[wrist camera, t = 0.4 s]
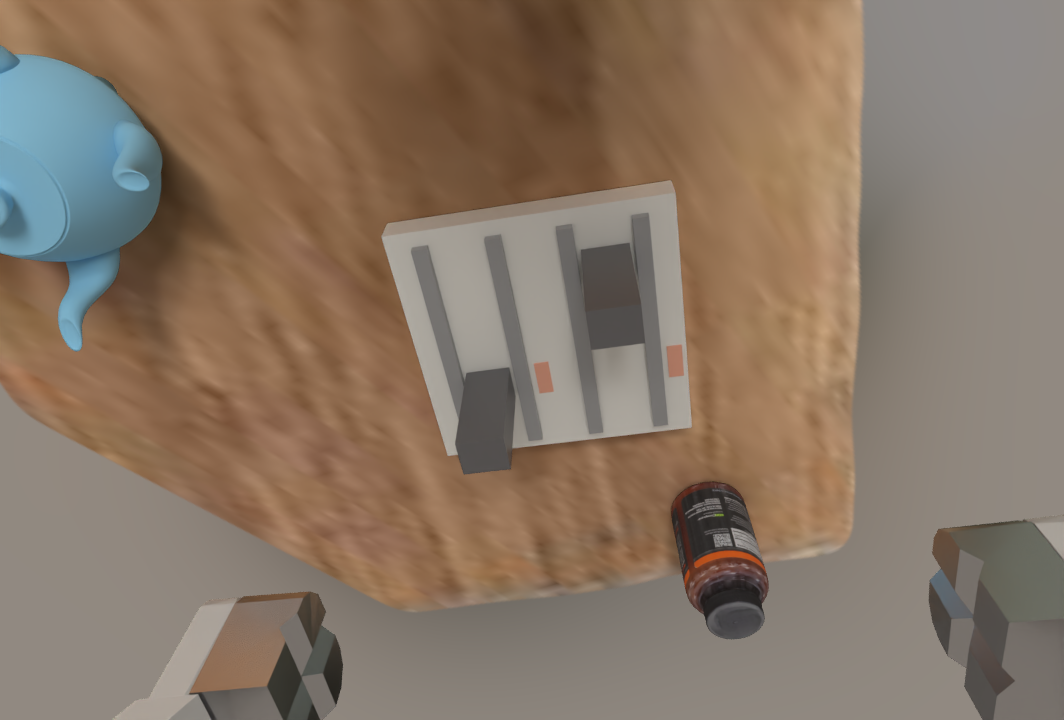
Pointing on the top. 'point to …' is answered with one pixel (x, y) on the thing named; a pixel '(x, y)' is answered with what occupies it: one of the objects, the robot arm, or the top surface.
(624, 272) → the switch tab
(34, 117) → the teapot
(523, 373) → the white board with strips
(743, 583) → the supplement bottle
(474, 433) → the switch tab
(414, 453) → the top surface
